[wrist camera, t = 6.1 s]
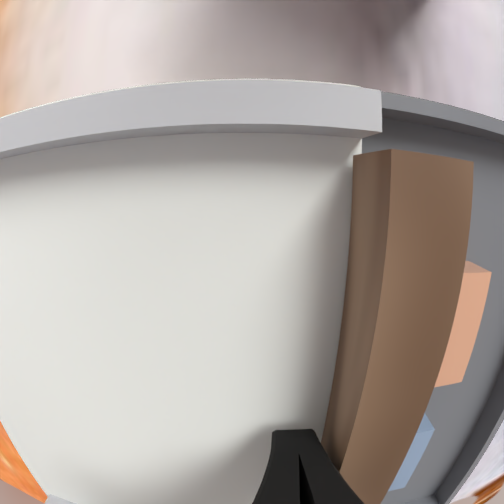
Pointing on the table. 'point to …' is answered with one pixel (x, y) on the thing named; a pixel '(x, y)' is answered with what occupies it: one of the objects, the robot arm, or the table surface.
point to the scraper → (395, 308)
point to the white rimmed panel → (173, 281)
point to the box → (497, 302)
